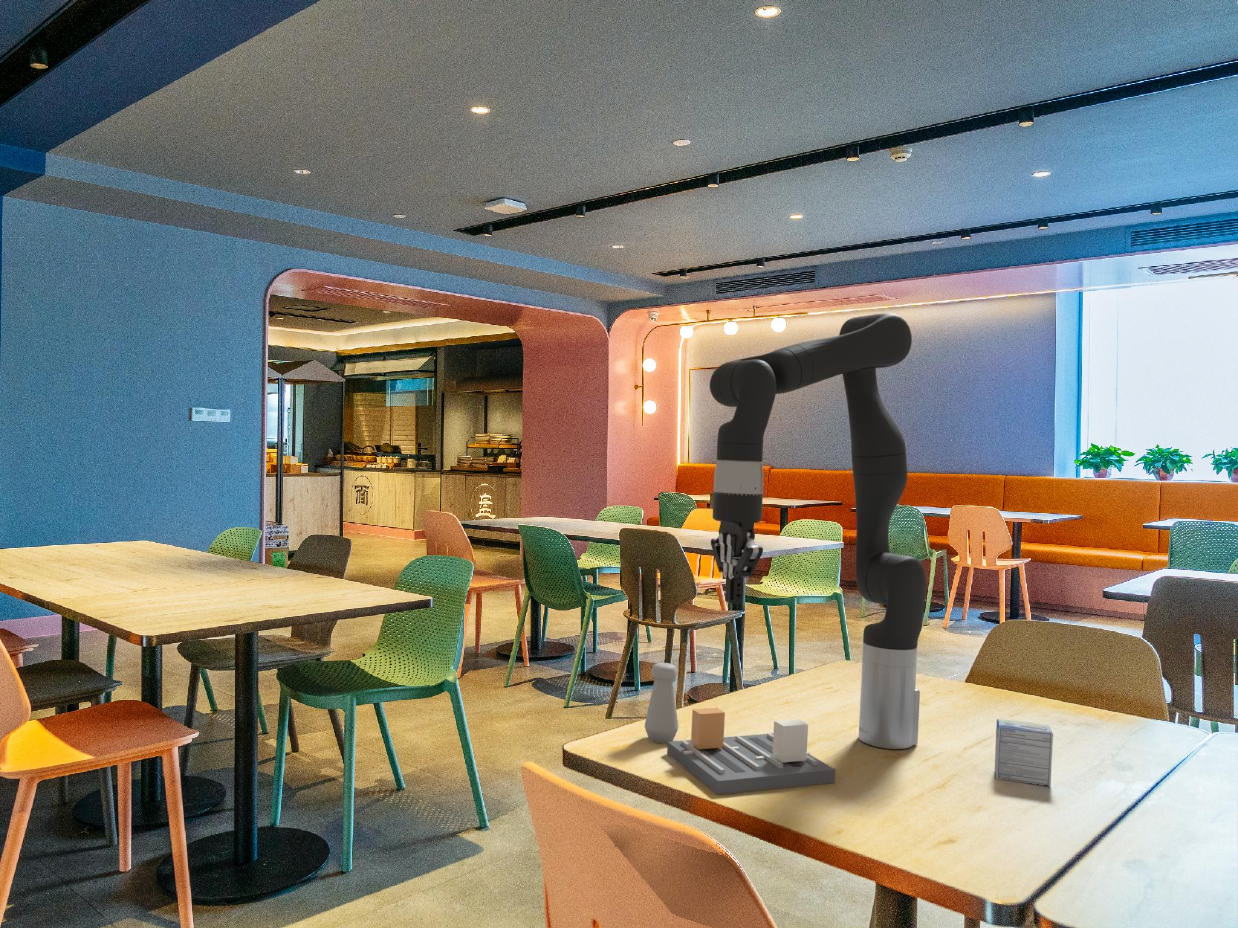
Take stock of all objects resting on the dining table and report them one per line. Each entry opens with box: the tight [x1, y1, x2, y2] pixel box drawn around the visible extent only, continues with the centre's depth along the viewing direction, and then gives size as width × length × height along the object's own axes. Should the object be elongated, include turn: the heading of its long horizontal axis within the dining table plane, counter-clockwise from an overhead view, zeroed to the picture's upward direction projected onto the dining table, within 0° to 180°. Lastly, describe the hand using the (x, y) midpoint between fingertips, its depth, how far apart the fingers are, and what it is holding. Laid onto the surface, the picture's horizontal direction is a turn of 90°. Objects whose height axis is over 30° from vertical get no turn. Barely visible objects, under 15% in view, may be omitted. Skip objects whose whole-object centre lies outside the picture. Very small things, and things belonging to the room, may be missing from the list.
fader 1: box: [690, 707, 726, 749], centre depth 142 cm, size 4×3×6 cm, turn 111°
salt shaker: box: [644, 662, 680, 744], centre depth 151 cm, size 6×6×13 cm
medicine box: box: [994, 718, 1054, 787], centre depth 140 cm, size 8×4×9 cm, turn 71°
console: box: [666, 732, 836, 796], centre depth 139 cm, size 20×18×3 cm
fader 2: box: [772, 718, 809, 763], centre depth 137 cm, size 4×3×6 cm, turn 111°
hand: (733, 602), depth 135 cm, fingers closed
